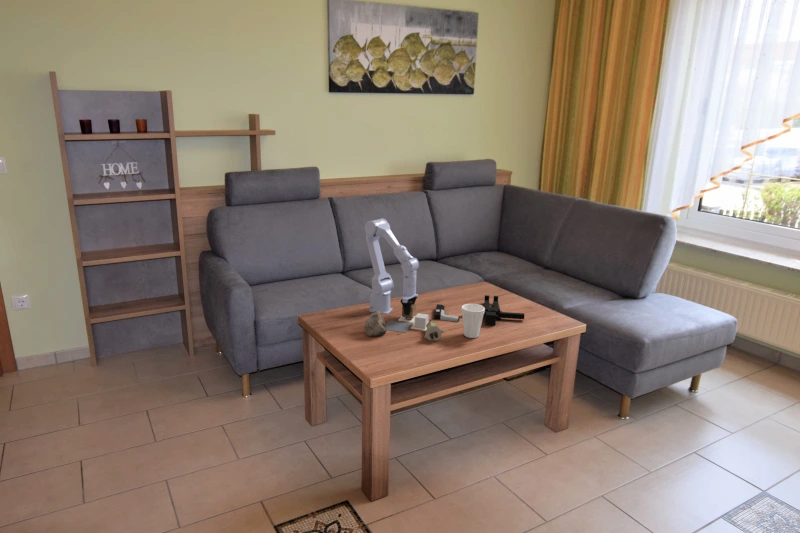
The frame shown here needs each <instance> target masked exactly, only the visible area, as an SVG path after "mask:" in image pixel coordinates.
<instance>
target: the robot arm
mask: <svg viewBox="0 0 800 533" xmlns="http://www.w3.org/2000/svg"><path fill="white" fill-rule="evenodd" d="M364 231H365V240H366V245H367V248H368V249H367V250H368V253H369V256H370V262H371V265H372V270H373V273H374V275H373V276H372V278H371V289H372V292H371V293H370V296H369V312H371V313H374V311H375V310H378V311H380V313H381V314H384V315H388V314H390V312H391V311H393V307H391V293H392V290H393V289H394V287H395V284H394V283H395V282H394V281H393V279H392V277H391V274H390V273H388V272H387V271H386V267H385V263H384V259H383V255H382V251H381V246H380V245H381V244H380V241H379V240H380V238H381V237H382V238H384V240H385V241H386V242H387V243H388V244H389V245H390V247H391V248H392V249H393V254H394V256H395V257H396V258H397V260H398V261H399V263H400V264H401V265H400V267H401V270H402V272H403V273H402V275H403V287H402V299H401V300H400V303H401V305H402V306H403V309H404V314H405V315H409V314H410V309H411V305H412V304H416V301H417V299H418V297H419V293H417V274H418V273H417V272H418V271H417V270H419V269H420V261H419V260H418V258H417V257H414V256H412V255H411V254H410V252H409V251H408V248H407V247H406V246H405V245H402V244H400V243H399V241H398V239H397V237H396V236H395V235H394V233H393V231H392V229H391V225H390V223H388V221H387V219H385V218H382V217H381V218H378V219H374V220H369V221H366V223H365V225H364Z"/></svg>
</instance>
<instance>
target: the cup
mask: <svg viewBox="0 0 800 533" xmlns="http://www.w3.org/2000/svg"><path fill="white" fill-rule="evenodd" d="M484 311H485V306H483V305H481V304H477V303H465V304H463V305H462V306H461V313H462V325H463V326H462V328H463V335H464V336H465V337H466V338H469V339H476V338H478V337H479V336H480V331H481V327H482V324H483V319H484V317H483V315H484Z"/></svg>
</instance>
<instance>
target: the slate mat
mask: <svg viewBox="0 0 800 533" xmlns="http://www.w3.org/2000/svg"><path fill="white" fill-rule="evenodd" d="M412 325H413V323H412V322H405V321H398V320H397V321H396V320H388V321H387V323H385V326H386V327H385V328H386V331H390V332H398V333H404V334H406V333H407V332H408V330H409V329H411V327H412Z"/></svg>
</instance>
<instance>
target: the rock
mask: <svg viewBox="0 0 800 533" xmlns="http://www.w3.org/2000/svg"><path fill="white" fill-rule="evenodd" d="M385 325H386V321H385V318H384V317H383V316H382V313H380V311H378V310H375V311H374V312H371V314H370V315H369V316H368V318H367V319H366V320H365V325H364V333H365V334H366V335H367V336H368V337H374V336H378V337H379V336H380V337H383V336H384V335H386V333H387V330H386V328H385V327H386V326H385Z"/></svg>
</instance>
